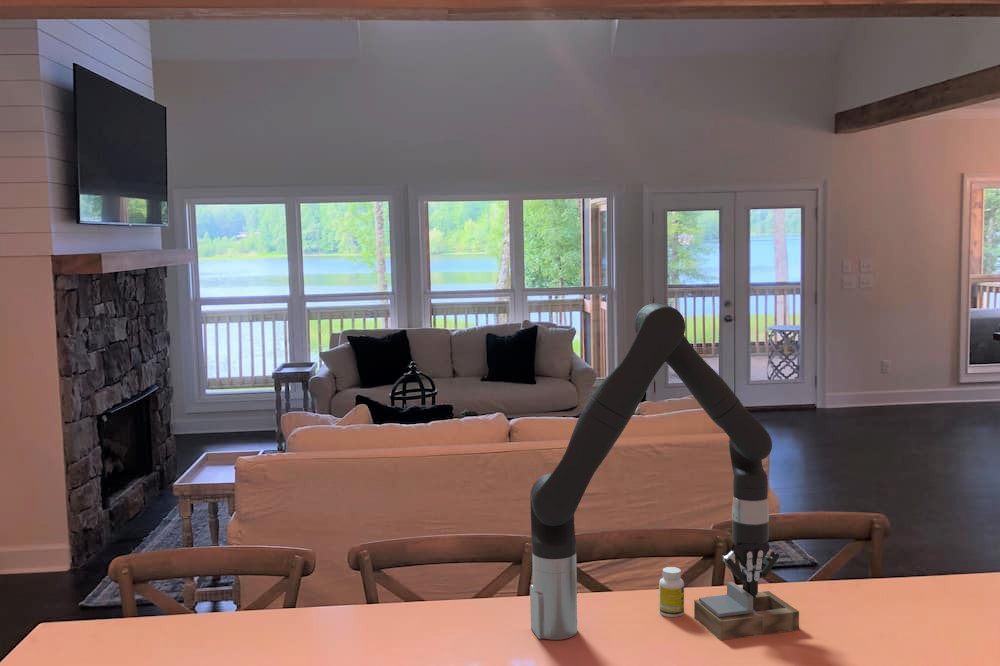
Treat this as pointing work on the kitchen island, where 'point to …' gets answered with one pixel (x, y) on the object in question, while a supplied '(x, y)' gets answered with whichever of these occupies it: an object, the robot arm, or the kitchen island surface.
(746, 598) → the panel
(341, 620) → the kitchen island surface
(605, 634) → the kitchen island surface
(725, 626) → the socket board
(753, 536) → the robot arm
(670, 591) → the supplement bottle
